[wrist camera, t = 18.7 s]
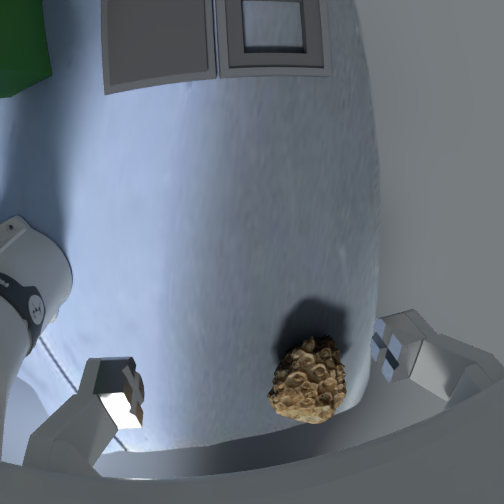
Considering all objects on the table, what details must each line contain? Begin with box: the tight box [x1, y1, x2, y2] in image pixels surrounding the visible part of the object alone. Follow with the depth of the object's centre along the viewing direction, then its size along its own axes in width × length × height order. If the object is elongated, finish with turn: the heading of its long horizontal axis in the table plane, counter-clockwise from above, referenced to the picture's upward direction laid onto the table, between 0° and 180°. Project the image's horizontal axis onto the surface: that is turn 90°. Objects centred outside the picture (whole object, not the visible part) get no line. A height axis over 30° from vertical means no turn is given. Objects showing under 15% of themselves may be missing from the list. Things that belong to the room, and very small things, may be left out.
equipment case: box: [101, 0, 332, 95], centre depth 31 cm, size 28×15×2 cm, turn 93°
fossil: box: [267, 335, 346, 424], centre depth 54 cm, size 23×14×15 cm, turn 12°
